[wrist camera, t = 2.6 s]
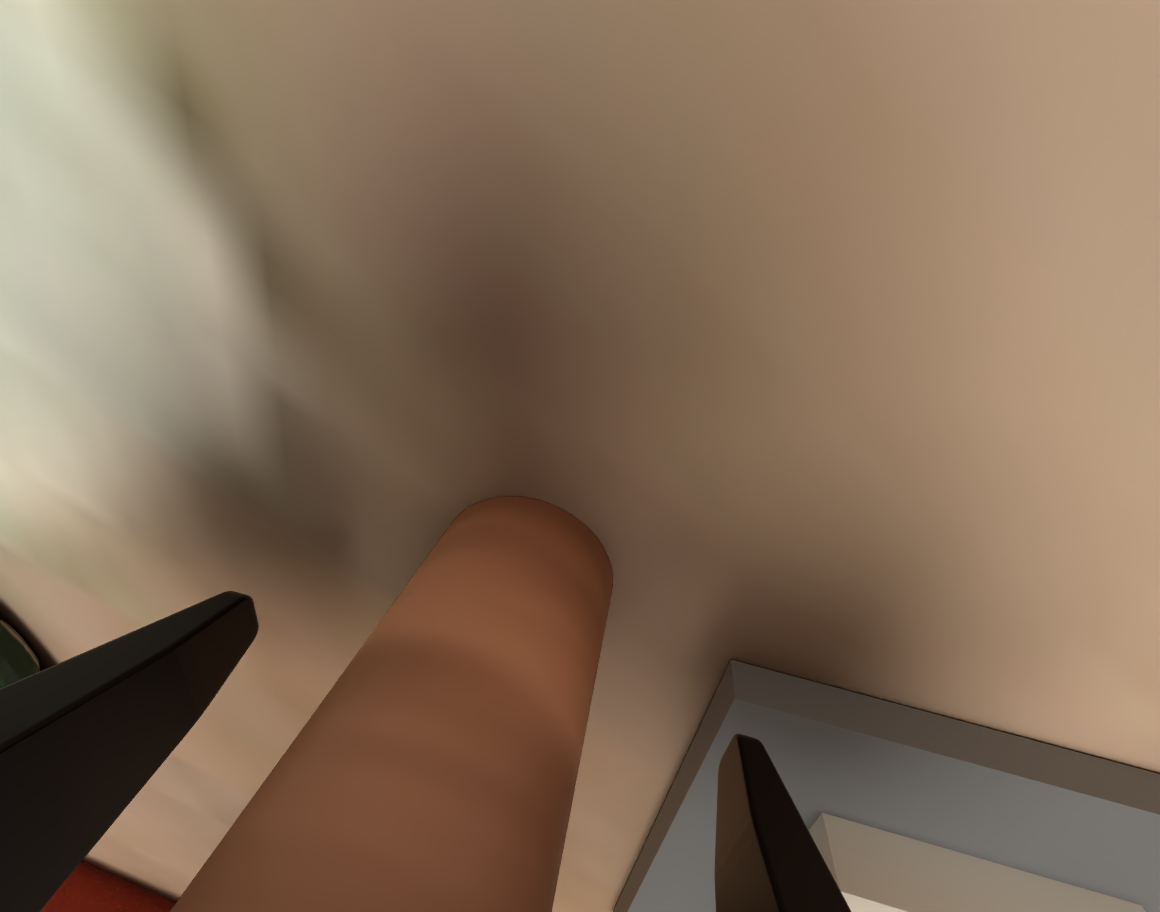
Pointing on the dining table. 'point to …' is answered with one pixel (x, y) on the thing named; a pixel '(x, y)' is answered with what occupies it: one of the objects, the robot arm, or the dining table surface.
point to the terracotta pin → (438, 738)
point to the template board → (912, 809)
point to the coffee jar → (15, 657)
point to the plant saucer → (103, 894)
